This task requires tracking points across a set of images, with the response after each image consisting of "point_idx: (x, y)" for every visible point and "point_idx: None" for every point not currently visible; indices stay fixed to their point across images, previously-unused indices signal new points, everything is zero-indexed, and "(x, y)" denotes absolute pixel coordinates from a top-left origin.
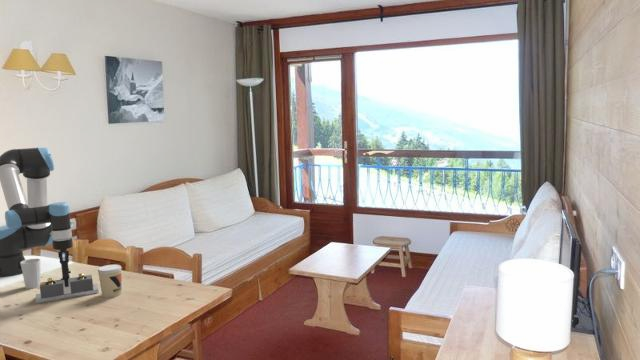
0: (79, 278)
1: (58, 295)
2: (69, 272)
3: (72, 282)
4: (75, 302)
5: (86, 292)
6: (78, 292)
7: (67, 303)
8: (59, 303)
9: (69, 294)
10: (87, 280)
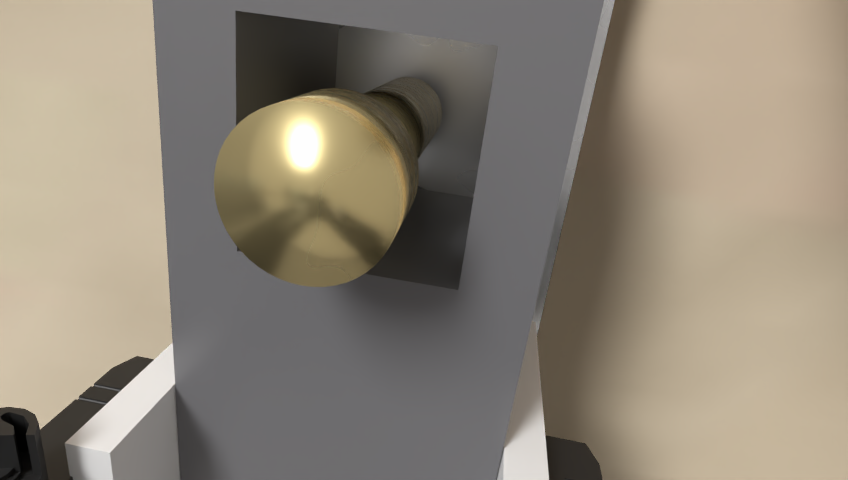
0: None
1: None
2: (20, 459)
3: (511, 392)
4: (838, 295)
5: (595, 78)
6: None
7: (775, 385)
8: (679, 453)
9: None
10: (589, 35)
